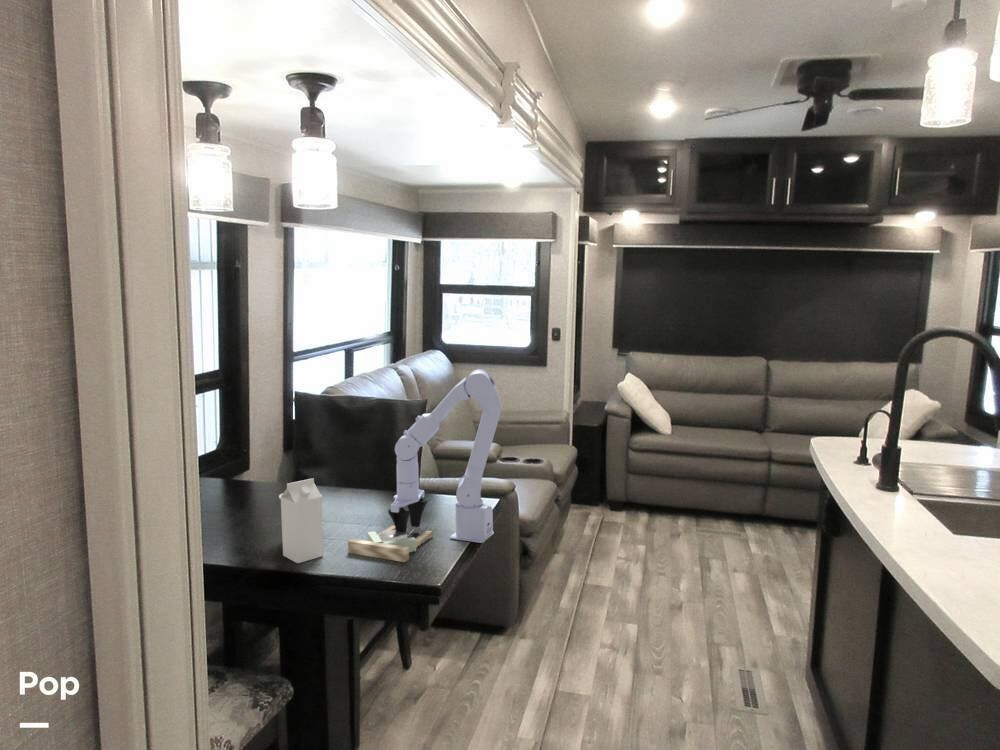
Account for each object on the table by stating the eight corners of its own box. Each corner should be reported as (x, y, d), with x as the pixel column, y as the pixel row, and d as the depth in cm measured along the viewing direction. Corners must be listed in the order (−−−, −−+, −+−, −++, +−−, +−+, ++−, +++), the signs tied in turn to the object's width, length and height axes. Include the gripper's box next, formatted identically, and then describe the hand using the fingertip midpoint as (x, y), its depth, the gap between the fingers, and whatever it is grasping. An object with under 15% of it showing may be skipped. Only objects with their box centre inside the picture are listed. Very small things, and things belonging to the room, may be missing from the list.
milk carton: (282, 556, 173) (279, 480, 171) (309, 548, 178) (306, 475, 176) (297, 564, 168) (294, 486, 166) (323, 556, 173) (321, 481, 171)
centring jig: (438, 537, 186) (438, 526, 186) (405, 562, 170) (404, 550, 169) (386, 529, 192) (385, 519, 192) (348, 552, 176) (348, 541, 175)
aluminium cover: (412, 543, 182) (411, 532, 182) (398, 553, 175) (398, 541, 175) (388, 539, 184) (388, 528, 184) (374, 549, 178) (373, 537, 178)
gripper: (407, 472, 194) (408, 520, 195) (379, 486, 180) (381, 537, 182) (430, 475, 191) (431, 523, 193) (404, 489, 178) (405, 541, 179)
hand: (408, 530), depth 187 cm, fingers open, 7 cm apart
